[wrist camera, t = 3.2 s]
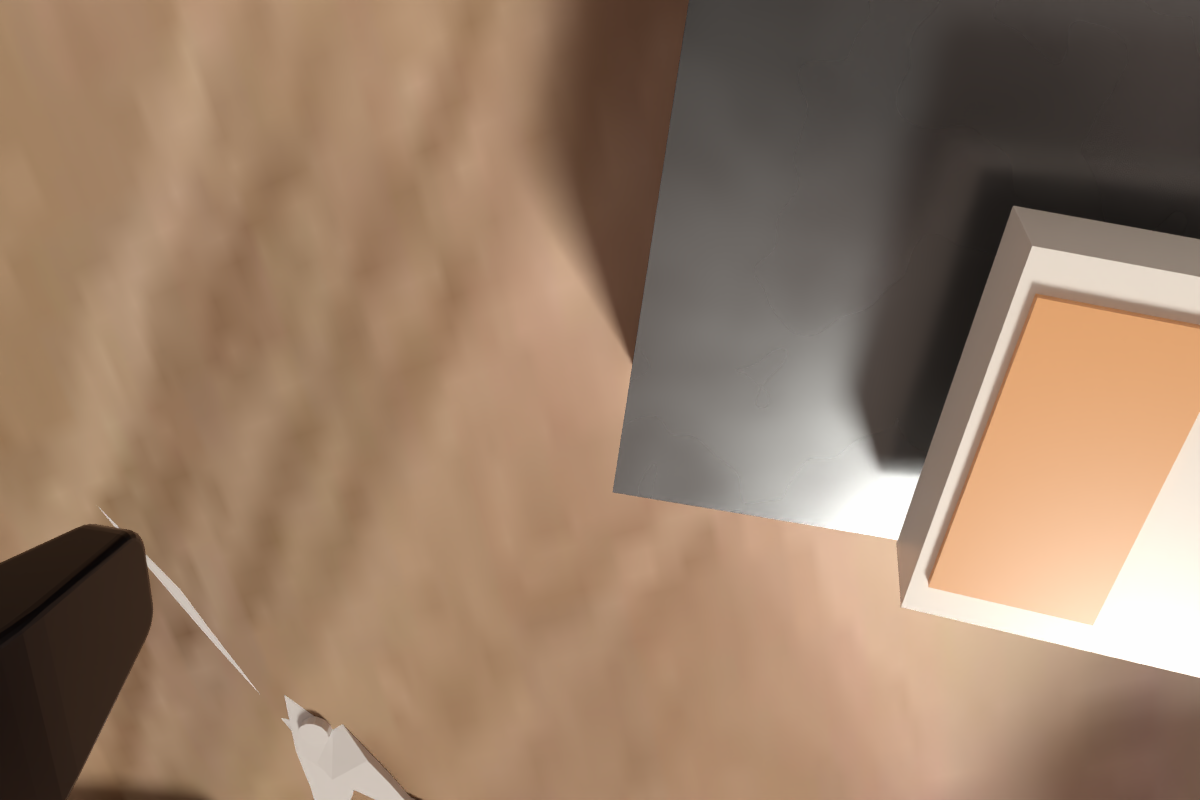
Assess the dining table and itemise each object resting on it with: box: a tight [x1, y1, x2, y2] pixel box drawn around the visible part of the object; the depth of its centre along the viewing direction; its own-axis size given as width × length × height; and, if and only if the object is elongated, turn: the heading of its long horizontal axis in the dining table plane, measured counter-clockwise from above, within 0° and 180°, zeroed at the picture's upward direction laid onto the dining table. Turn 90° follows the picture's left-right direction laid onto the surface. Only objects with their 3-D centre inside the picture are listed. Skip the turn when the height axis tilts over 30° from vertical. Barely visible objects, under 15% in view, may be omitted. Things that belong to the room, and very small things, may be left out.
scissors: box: [100, 509, 416, 800], centre depth 25 cm, size 11×1×20 cm
